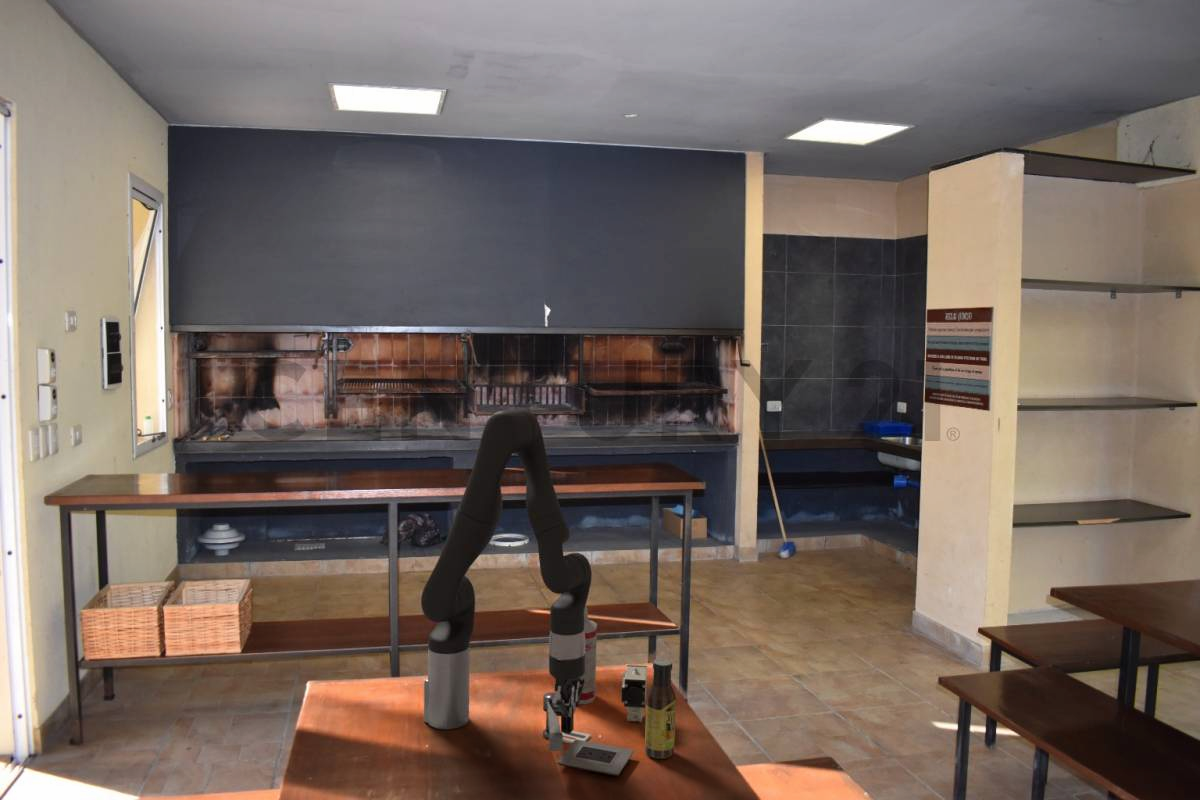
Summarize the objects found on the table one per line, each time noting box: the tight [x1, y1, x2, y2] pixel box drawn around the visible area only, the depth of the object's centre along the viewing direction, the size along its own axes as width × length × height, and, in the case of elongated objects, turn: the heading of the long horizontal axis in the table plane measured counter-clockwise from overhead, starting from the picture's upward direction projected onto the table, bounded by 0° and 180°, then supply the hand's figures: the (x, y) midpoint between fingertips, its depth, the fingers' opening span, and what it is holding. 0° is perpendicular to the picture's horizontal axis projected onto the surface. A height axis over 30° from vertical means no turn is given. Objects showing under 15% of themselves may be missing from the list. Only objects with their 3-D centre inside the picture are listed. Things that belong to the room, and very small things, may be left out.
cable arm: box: [542, 692, 564, 752], centre depth 188 cm, size 21×4×3 cm, turn 6°
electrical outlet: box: [556, 739, 635, 777], centre depth 185 cm, size 13×10×2 cm
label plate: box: [561, 730, 592, 745], centre depth 196 cm, size 6×5×1 cm
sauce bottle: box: [644, 658, 677, 760], centre depth 189 cm, size 6×6×20 cm
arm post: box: [542, 712, 549, 740], centre depth 197 cm, size 4×4×6 cm
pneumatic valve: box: [621, 664, 648, 723], centre depth 206 cm, size 6×12×12 cm, turn 176°
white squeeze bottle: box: [579, 604, 598, 705], centre depth 216 cm, size 8×8×25 cm
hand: (567, 731), depth 186 cm, fingers closed
